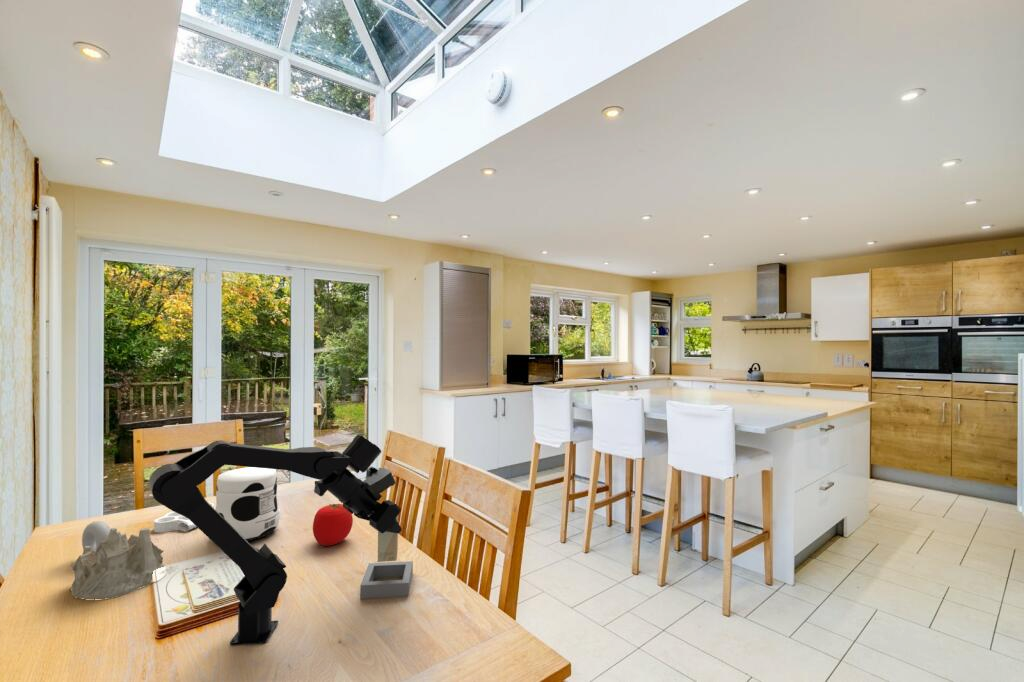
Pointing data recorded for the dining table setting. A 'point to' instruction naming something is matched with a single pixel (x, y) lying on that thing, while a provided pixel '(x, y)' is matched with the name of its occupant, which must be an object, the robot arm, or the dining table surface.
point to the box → (387, 546)
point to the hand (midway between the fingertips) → (393, 527)
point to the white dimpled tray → (174, 522)
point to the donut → (95, 534)
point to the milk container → (249, 500)
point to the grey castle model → (116, 566)
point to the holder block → (386, 587)
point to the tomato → (332, 524)
